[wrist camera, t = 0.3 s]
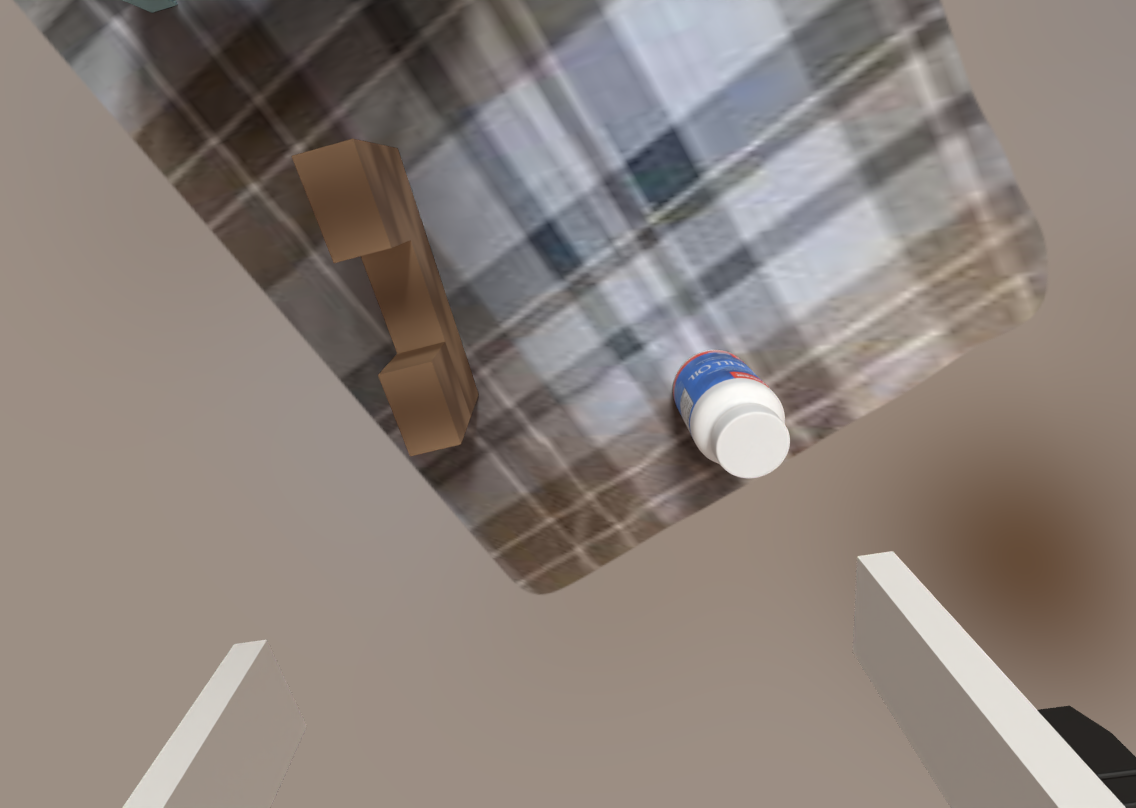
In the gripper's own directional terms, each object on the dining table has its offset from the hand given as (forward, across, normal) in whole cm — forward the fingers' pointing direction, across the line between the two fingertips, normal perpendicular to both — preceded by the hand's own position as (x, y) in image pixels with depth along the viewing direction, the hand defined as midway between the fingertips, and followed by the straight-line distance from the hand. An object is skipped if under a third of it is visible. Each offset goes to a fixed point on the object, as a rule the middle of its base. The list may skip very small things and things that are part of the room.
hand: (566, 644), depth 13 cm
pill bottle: (+27, +10, -5) cm, 29 cm away
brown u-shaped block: (+27, -8, +4) cm, 29 cm away
